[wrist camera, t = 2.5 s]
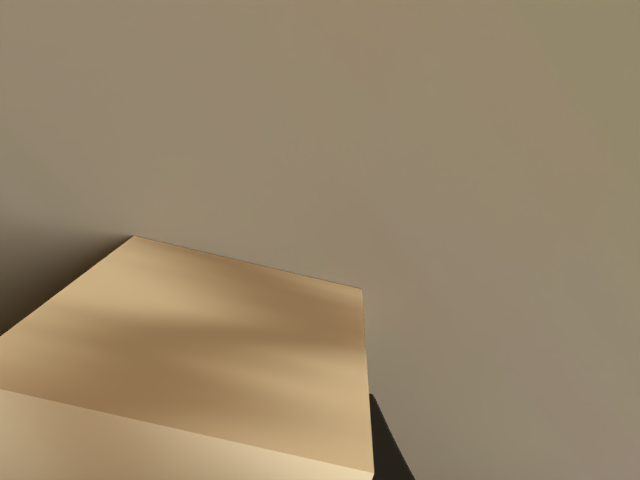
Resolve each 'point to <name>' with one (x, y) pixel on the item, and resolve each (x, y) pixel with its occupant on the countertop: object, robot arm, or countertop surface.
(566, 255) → the countertop surface
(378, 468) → the robot arm
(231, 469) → the maple cube
